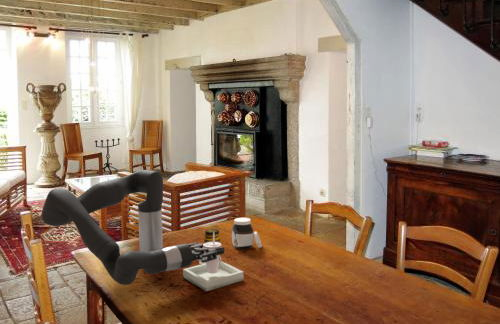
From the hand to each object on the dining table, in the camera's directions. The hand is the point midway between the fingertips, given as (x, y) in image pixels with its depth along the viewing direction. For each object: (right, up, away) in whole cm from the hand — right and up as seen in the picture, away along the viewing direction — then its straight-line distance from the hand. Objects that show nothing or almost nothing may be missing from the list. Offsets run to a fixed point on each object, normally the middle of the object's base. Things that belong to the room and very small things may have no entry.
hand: (218, 247), depth 163 cm
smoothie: (-2, -8, 0) cm, 9 cm away
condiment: (-4, -8, +18) cm, 21 cm away
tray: (-2, -11, 0) cm, 11 cm away
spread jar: (+10, -6, +34) cm, 36 cm away
